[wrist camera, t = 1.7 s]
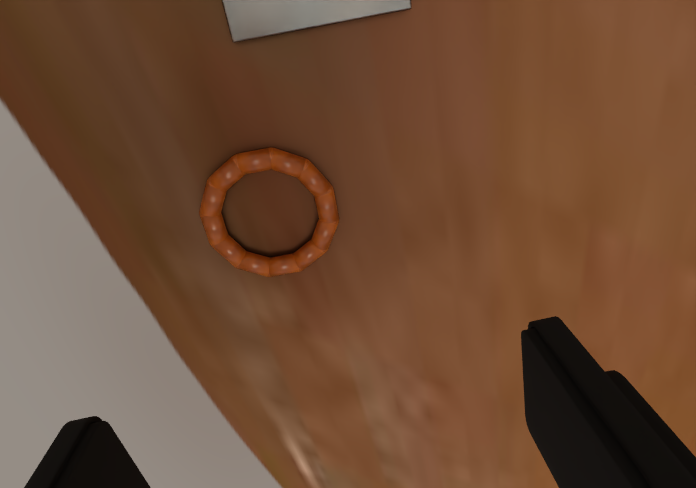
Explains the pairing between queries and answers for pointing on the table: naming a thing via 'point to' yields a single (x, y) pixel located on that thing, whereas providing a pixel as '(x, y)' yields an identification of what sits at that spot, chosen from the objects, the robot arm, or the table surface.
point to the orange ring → (283, 164)
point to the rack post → (298, 14)
